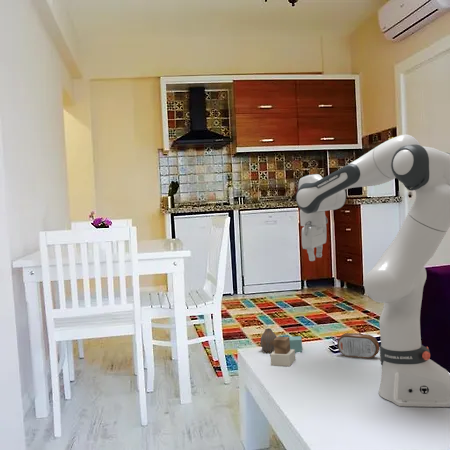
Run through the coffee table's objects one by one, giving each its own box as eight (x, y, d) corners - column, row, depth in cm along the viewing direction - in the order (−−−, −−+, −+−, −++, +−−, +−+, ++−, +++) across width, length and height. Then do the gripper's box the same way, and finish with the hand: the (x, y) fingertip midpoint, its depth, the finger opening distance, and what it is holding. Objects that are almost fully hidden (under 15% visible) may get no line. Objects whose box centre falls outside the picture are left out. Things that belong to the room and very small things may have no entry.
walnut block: (290, 350, 186) (289, 336, 186) (286, 354, 182) (285, 340, 182) (278, 349, 188) (277, 336, 188) (274, 353, 184) (273, 339, 184)
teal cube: (302, 348, 201) (301, 336, 201) (302, 352, 196) (300, 339, 196) (289, 349, 202) (288, 336, 202) (289, 353, 197) (287, 340, 197)
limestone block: (295, 360, 187) (294, 349, 187) (289, 366, 181) (288, 355, 181) (277, 359, 190) (276, 348, 190) (271, 365, 184) (270, 354, 184)
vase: (258, 350, 204) (256, 328, 204) (274, 347, 206) (272, 326, 206) (265, 354, 197) (263, 332, 197) (281, 351, 199) (279, 329, 199)
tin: (380, 357, 182) (378, 334, 182) (378, 360, 179) (376, 336, 179) (340, 354, 190) (338, 331, 190) (337, 356, 188) (335, 334, 187)
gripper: (313, 221, 170) (316, 262, 171) (328, 218, 189) (331, 255, 189) (295, 222, 173) (298, 263, 174) (311, 219, 192) (314, 255, 192)
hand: (315, 259), depth 182 cm, fingers open, 8 cm apart
